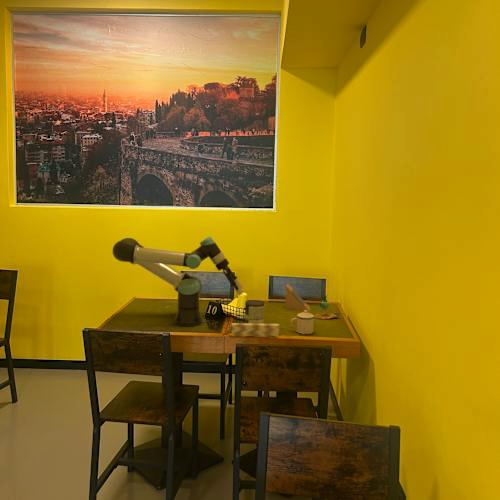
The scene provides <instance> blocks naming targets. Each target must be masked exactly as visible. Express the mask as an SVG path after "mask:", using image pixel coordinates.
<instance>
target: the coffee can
mask: <svg viewBox="0 0 500 500" xmlns="http://www.w3.org/2000/svg"><path fill="white" fill-rule="evenodd" d="M244 312H245V314H244V323H256V324H265V323H264V321H265V302H264V301H263V300H258V299H251V300H246V301H245V308H244Z"/></svg>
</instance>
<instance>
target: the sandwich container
mask: <svg viewBox="0 0 500 500" xmlns="http://www.w3.org/2000/svg"><path fill="white" fill-rule="evenodd" d="M284 307H285V308H284V309H285V310H291V311H301V312H302V311H303V312H304V310H307V311H308V312H310V311H311V307H310V306H309V305H308V303H306V301H304V299H303V298H302V297H301V296H300V295H299V294H298V292H296V290H294V288H293V287H292V286H291V285H290V284H289V283H287V284H286V286H285V305H284Z"/></svg>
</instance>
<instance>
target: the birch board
mask: <svg viewBox="0 0 500 500" xmlns="http://www.w3.org/2000/svg"><path fill="white" fill-rule="evenodd" d="M245 336H253V338H254V337H255V338H257V337H258V338H259V337H261V338H269V337H268V336H279V337H280V324H279V323H264V324H256V323H245V322H244V323H243V322H241V323H240V322H239V323H238V322H232V323H231V337H245Z"/></svg>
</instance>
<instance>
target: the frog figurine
mask: <svg viewBox="0 0 500 500" xmlns="http://www.w3.org/2000/svg"><path fill="white" fill-rule="evenodd" d="M317 308H319V309H318V310H319V311H325V313H323V312H318V313H317V314H313V315H314V318H315V319H322V320H329V319H332V318H333V319H341V318H342V317H341V315H340V313H339V312H338V310H337V309H336V311H334V313H331V307H330V303H329V302H328V301H327V294H325V296H324V298H322V301H321V302H320V304H319V305H318V306H317ZM327 309H329V310H330V311H329V310H327Z"/></svg>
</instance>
